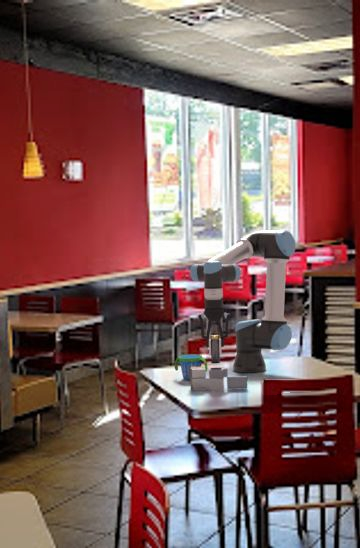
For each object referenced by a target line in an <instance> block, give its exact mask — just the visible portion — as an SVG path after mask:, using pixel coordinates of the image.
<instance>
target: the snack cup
mask: <svg viewBox="0 0 360 548" xmlns="http://www.w3.org/2000/svg"><path fill="white" fill-rule="evenodd" d="M178 361H179V364H180V370H181V374H182V378H183V380H186V381H191V377H190V368H191V367H202V362H203V365H204V367H205V369H206V373H207V372H208V370H209V367H208V362H207V360H206V359H205V358H204V357H203V355H201V354H195V353H194V354H183V355H180V356H178V357H177V358H176V359H175V362H174V370H175V371H178V370H179V366H178Z"/></svg>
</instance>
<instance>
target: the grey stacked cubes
mask: <svg viewBox="0 0 360 548" xmlns="http://www.w3.org/2000/svg"><path fill="white" fill-rule="evenodd" d="M228 370H229V369H228V368H227V367H226V368H225V367H220V366H219V367H217V366H216V367H208V376H209V377H208V378H209V379H216V378H223V377H224V378H226V385H227V386H226V387H227V390H238V389H239V390H240V389H241V390H243V389H248V376H247V375H239V376H238V375H237V376H236V375H235V376H232V375H231V376H228V373H229V372H228Z"/></svg>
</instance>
